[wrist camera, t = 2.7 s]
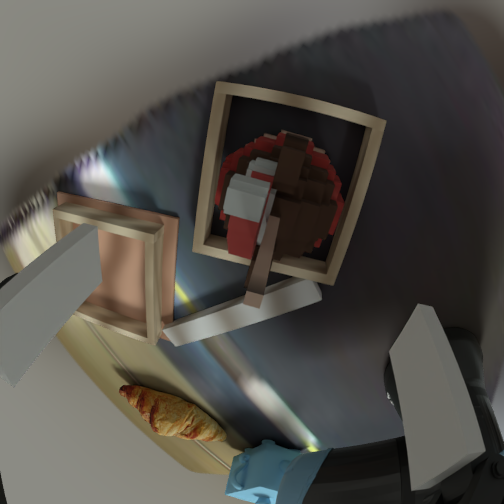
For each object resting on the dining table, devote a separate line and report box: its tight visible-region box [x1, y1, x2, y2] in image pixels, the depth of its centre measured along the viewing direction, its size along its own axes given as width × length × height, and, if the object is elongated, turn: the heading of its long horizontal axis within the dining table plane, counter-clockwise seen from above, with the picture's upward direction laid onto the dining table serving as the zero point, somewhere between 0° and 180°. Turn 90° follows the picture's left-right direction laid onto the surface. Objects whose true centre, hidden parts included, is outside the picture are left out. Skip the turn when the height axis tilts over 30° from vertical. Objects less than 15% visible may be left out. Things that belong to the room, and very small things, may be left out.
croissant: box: [119, 385, 227, 442], centre depth 46 cm, size 21×10×8 cm, turn 61°
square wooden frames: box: [53, 81, 386, 346], centre depth 30 cm, size 34×32×3 cm
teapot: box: [225, 440, 301, 504], centre depth 45 cm, size 18×16×13 cm
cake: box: [214, 130, 345, 309], centre depth 19 cm, size 11×9×18 cm
